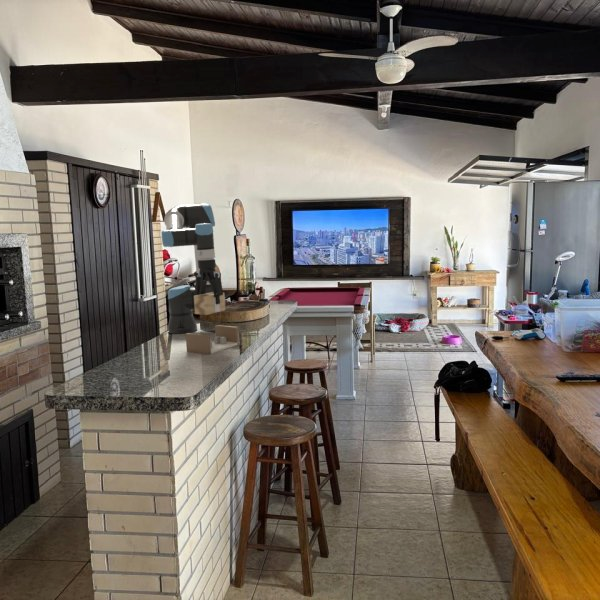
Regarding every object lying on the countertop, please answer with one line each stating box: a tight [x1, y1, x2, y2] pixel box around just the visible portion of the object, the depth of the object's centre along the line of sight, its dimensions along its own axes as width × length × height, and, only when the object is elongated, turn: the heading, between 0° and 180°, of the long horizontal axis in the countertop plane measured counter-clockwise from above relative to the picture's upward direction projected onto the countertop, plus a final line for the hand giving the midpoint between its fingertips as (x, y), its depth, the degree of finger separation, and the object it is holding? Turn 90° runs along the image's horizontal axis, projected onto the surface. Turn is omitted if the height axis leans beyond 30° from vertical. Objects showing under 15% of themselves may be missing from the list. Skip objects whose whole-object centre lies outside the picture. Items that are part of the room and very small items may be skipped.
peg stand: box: [185, 324, 240, 355], centre depth 252 cm, size 13×20×8 cm, turn 145°
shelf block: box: [194, 291, 226, 316], centre depth 250 cm, size 7×12×8 cm, turn 145°
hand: (210, 311), depth 251 cm, fingers closed on shelf block, 7 cm apart
